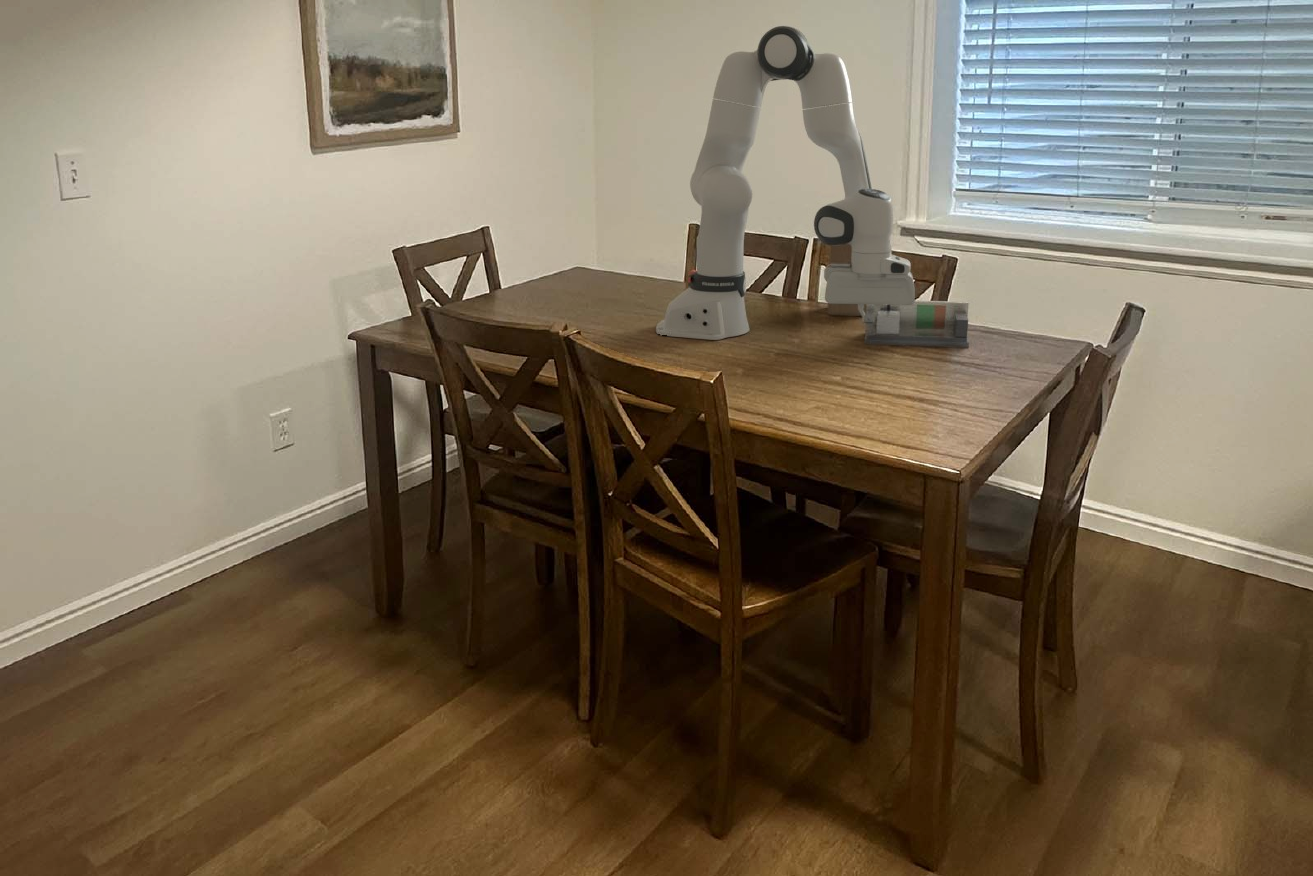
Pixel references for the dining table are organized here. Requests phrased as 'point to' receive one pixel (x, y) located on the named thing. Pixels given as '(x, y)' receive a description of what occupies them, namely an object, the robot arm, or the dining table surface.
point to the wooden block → (842, 256)
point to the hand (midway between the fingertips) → (868, 322)
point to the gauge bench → (924, 325)
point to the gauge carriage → (888, 322)
